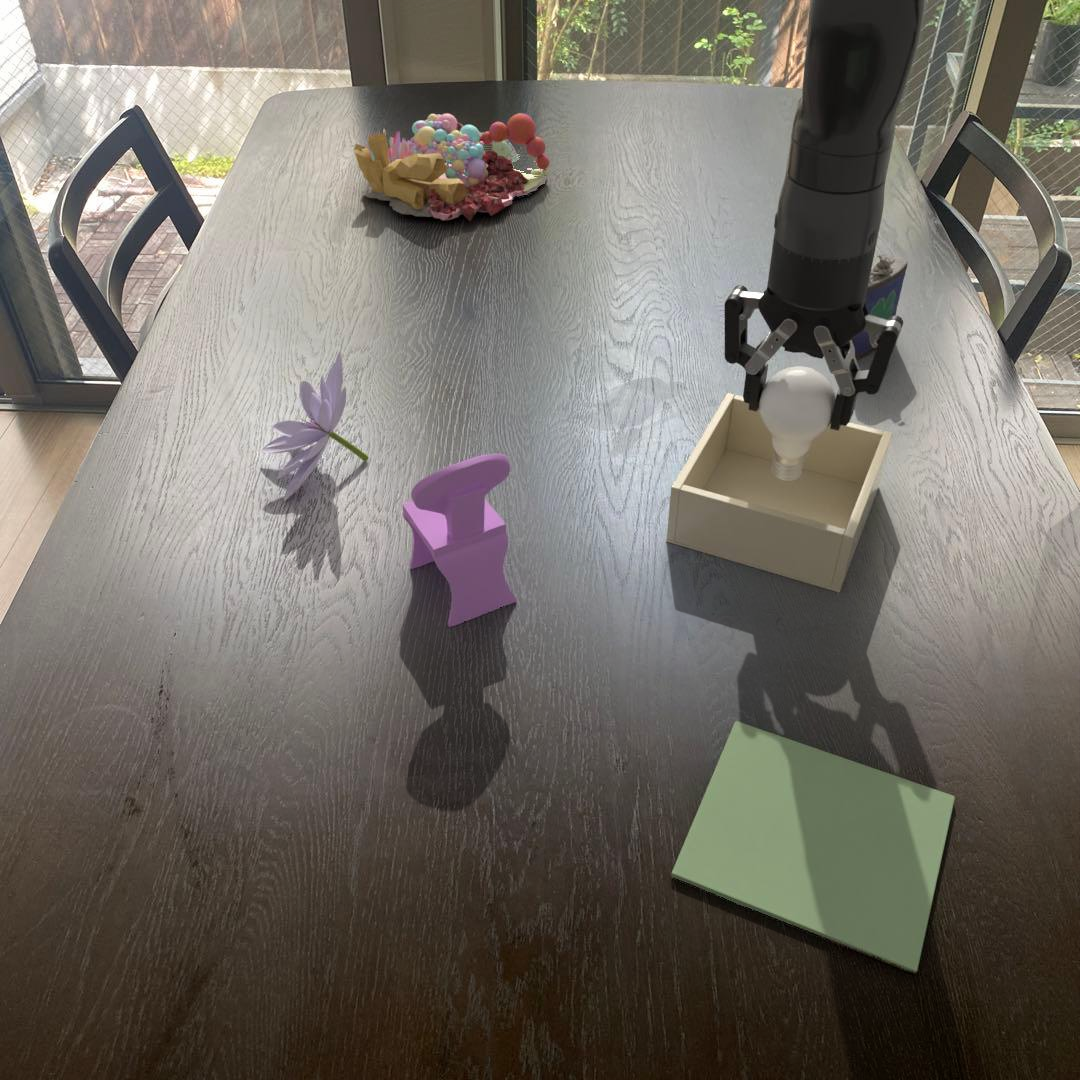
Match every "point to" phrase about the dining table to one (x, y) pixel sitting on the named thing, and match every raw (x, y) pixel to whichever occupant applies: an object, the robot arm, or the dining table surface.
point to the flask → (881, 296)
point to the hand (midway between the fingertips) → (795, 414)
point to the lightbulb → (795, 415)
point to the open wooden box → (777, 497)
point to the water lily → (313, 427)
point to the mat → (819, 843)
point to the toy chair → (463, 534)
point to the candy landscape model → (451, 167)
